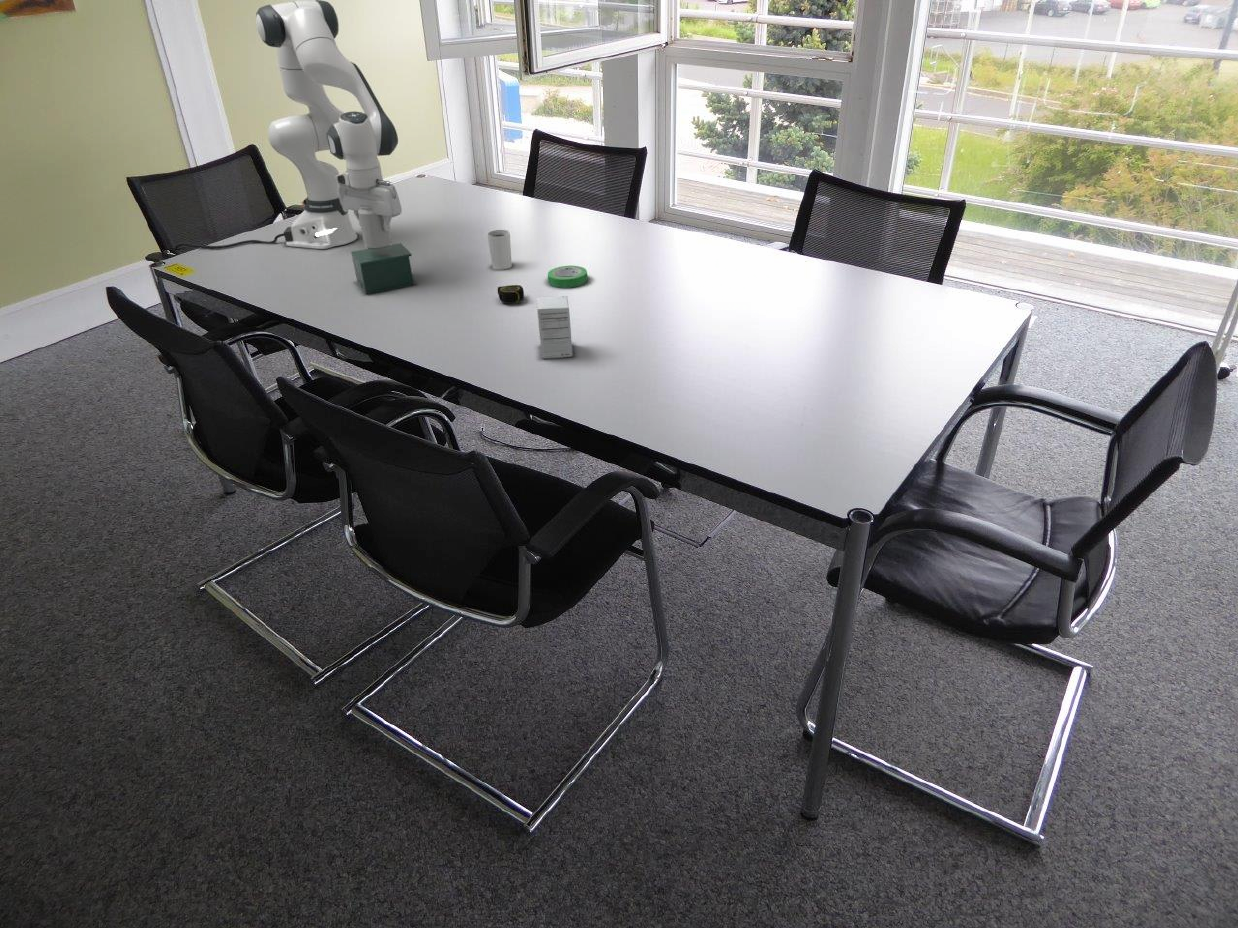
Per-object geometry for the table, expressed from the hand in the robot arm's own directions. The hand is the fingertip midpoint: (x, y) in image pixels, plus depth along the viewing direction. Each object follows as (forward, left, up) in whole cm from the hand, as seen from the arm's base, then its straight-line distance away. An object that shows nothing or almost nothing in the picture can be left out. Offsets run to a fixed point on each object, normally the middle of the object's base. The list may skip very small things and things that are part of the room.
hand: (375, 228), depth 241 cm
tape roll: (+53, +4, -16) cm, 55 cm away
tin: (0, 0, -16) cm, 16 cm away
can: (0, 0, -5) cm, 5 cm away
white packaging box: (+59, -42, -16) cm, 74 cm away
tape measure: (+40, -11, -16) cm, 44 cm away
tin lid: (0, 0, -8) cm, 8 cm away
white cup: (+31, +15, -16) cm, 38 cm away
